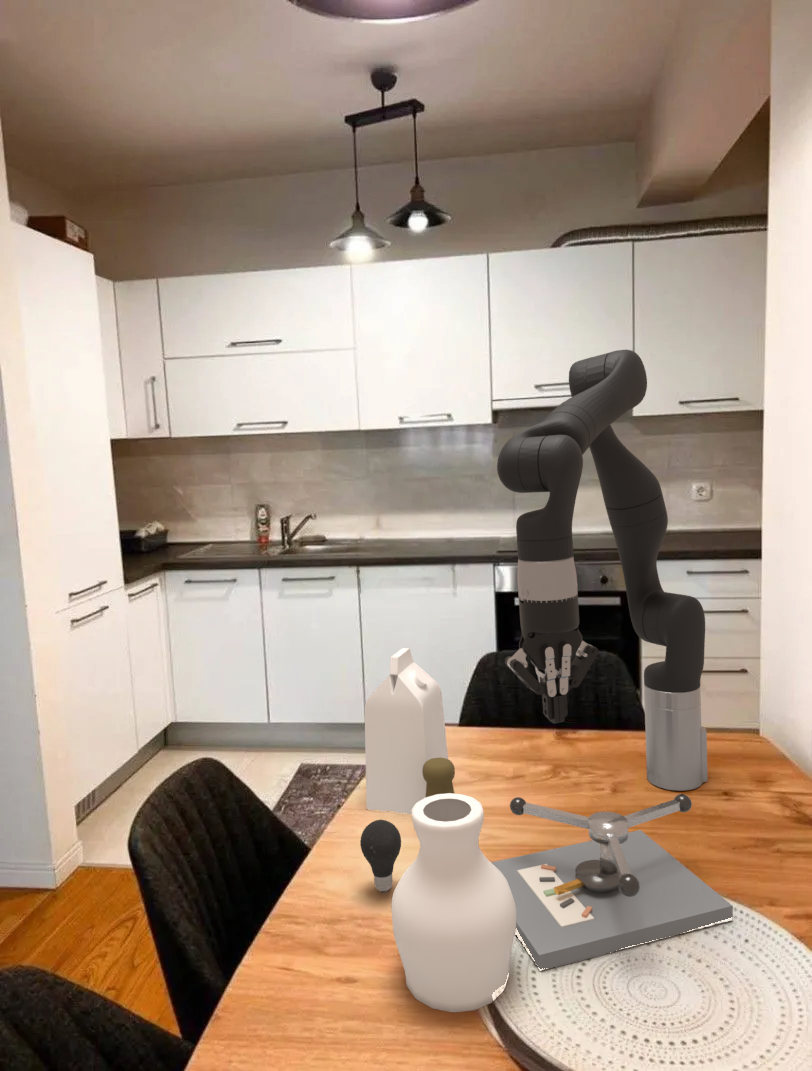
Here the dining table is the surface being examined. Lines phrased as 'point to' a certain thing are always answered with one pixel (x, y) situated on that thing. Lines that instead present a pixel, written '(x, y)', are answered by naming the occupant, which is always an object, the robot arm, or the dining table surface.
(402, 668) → the milk
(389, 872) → the light bulb
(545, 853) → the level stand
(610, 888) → the capstan
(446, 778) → the cork
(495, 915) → the vase
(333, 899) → the dining table surface
